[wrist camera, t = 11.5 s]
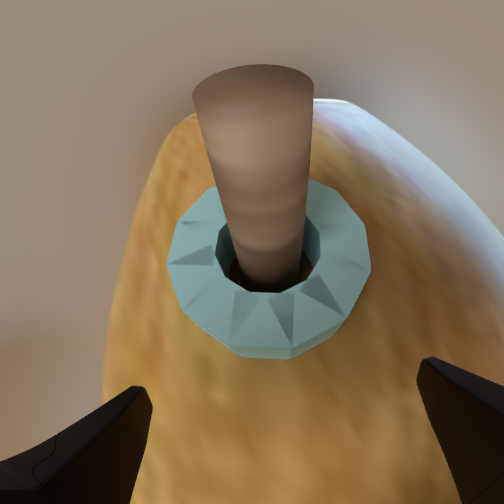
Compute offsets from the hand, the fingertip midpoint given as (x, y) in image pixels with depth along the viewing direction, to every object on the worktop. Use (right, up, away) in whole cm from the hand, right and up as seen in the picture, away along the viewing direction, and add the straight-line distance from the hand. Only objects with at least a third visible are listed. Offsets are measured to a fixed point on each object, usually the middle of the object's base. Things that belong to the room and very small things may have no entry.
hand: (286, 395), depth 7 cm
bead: (0, +3, +11) cm, 11 cm away
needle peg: (0, +3, +11) cm, 11 cm away
